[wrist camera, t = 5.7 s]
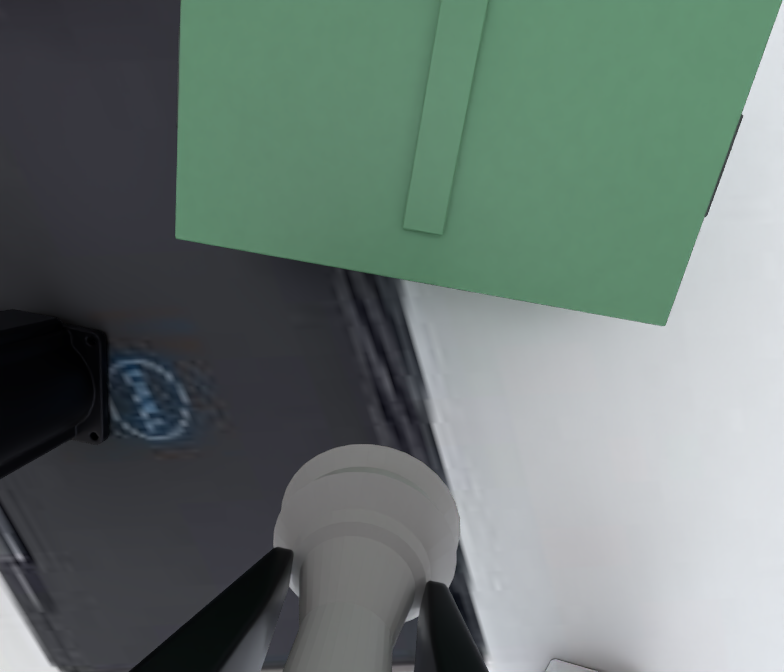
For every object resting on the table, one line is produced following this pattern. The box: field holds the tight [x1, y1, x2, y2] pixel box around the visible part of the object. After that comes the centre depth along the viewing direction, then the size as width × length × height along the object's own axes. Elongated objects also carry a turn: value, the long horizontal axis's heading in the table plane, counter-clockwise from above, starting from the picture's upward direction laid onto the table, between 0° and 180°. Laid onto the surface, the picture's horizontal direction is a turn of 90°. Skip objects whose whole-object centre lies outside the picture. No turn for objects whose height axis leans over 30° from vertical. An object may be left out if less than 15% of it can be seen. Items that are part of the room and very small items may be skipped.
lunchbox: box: [175, 0, 782, 326], centre depth 14 cm, size 9×16×7 cm, turn 81°
